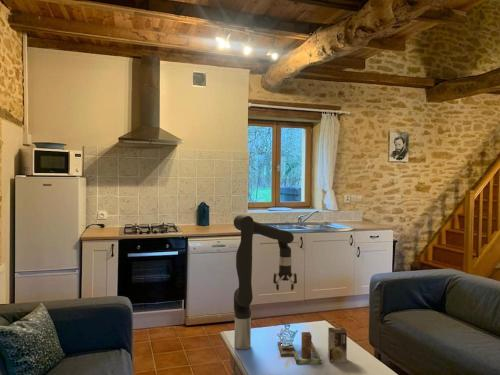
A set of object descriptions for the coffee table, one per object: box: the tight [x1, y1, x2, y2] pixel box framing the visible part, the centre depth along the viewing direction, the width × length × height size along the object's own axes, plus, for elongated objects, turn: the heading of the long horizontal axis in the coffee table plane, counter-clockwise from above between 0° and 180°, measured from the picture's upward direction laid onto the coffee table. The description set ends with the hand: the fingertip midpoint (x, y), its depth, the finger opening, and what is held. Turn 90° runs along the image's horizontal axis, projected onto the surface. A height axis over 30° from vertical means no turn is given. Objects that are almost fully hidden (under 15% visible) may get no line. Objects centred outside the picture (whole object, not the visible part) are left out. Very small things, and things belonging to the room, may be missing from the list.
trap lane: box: [277, 341, 322, 365], centre depth 203 cm, size 20×24×2 cm
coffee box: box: [327, 327, 348, 364], centre depth 195 cm, size 9×6×16 cm
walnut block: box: [300, 331, 313, 359], centre depth 197 cm, size 4×4×13 cm
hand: (284, 290), depth 225 cm, fingers open, 8 cm apart
